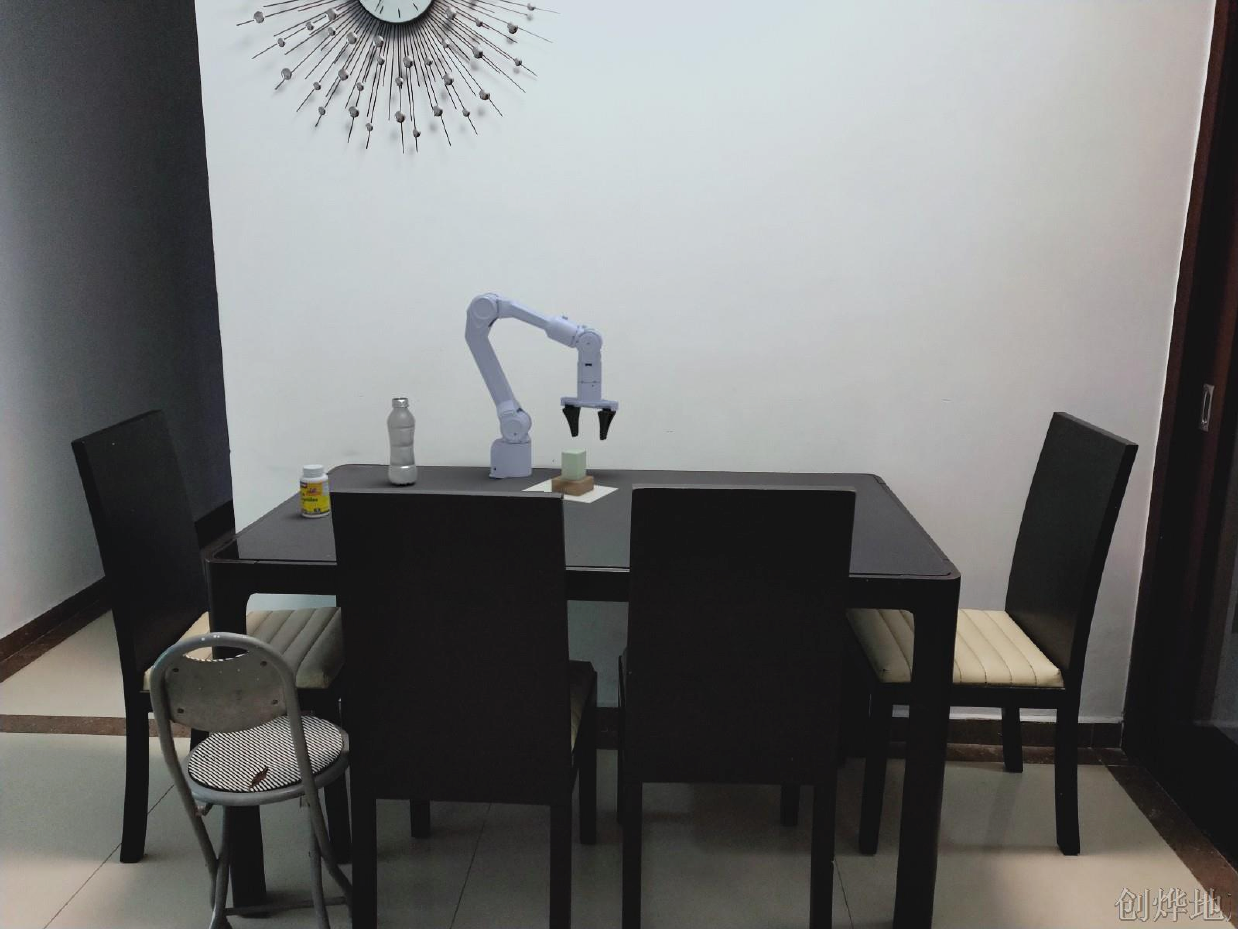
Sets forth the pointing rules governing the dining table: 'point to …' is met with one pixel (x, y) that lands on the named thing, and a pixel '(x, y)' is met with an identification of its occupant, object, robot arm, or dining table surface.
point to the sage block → (573, 464)
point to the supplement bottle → (314, 492)
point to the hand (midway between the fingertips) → (588, 438)
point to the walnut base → (572, 485)
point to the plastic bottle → (401, 443)
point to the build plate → (587, 497)
